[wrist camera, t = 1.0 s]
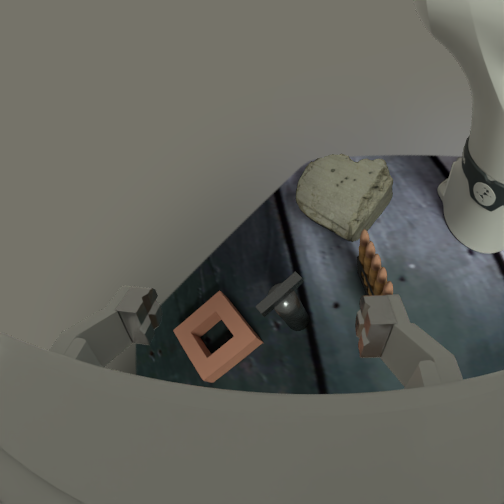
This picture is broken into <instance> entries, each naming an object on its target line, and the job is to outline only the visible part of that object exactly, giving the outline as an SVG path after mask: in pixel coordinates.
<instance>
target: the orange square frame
mask: <svg viewBox="0 0 504 504" xmlns="http://www.w3.org/2000/svg"><path fill="white" fill-rule="evenodd" d="M221 319H222V321H223V322H224V323H225V325H226V326H227V327H228V329H229V330H230V331H231V333H232V334H233V336H234V337H232V338H231V339H230V340H229V341H228V342H226V343H225V344H224V345H223V346H222V347H220V348H219V349H218V350H217V351H215V352H214V353H213V354H211V353H210V351H209V350H208V348H207V347H206V345H205V344H204V342H203V341H202V339H201V338H200V337H201V336H202V335H204V334H205V333H206V332H207V331H208V330H210V329H211V328H212V327H213V326H214V325H215V324H217V323H218V322H219V321H220V320H221ZM173 331H174V333H175V335H176V336H177V338H178V340H179V341H180V343H181V345H182V347H183V348H184V350H185V352H186V353H187V355H188V357H189V358H190V360H191V362H192V363H193V365H194V367H195V368H196V370H197V371H198V373H199V375H200V376H201V378H202V379H203V381H208V382H212V383H213V382H214V381H216V380H217V379H218V378H220V377H221V376H222V375H223V374H225V373H226V372H227V371H229V370H230V369H231V368H232V367H234V366H235V365H236V364H237V363H239V362H240V361H241V360H242V359H244V358H245V357H246V356H247V355H248V354H250V353H251V352H252V351H253V350H255V349H256V348H257V347H258V346H259V345H261V344H262V343H263V342H262V340H261V339H260V338H259V337H258V335H257V334H256V333H255V332H254V330H253V329H252V328H251V327H250V325H249V324H248V323H247V322H246V320H245V319H244V318H243V317H242V315H241V314H240V313H239V312H238V310H237V309H236V308H235V306H234V305H233V304H232V303H231V301H230V300H229V299H228V297H226V296H225V295H224V294H223V293H222V292H221V291H219V292H217V293H216V294H215V295H214V296H213V297H212V298H210V299H209V300H208V301H207V302H206V303H205V304H203V305H202V306H201V307H200V308H199V309H198V310H196V311H195V312H194V313H193V314H192V315H191V316H189V317H188V318H187V319H186V320H185V321H184V322H182V323H181V324H180V325H179V326H178V327H177V328H175V329H174V330H173Z"/></svg>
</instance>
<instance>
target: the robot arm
mask: <svg viewBox="0 0 504 504" xmlns="http://www.w3.org/2000/svg"><path fill="white" fill-rule="evenodd" d="M413 1H414V5H415V9H416V12H417V14H418V16H419V18H420V20H421V22H422V23H423V25H424V26H425V28H426V29H427V30H428V32H429V33H430V34H431V35H432V36H433V37H434V38H435V39H436V40H437V41H439V42H440V43H441V44H442V45H443V46H444V47H445V48H446V49H447V50H448V51H449V52H450V53H451V54H452V56H453V57H454V58H455V59H456V61H457V62H458V64H459V65H460V67H461V69H462V70H463V72H464V74H465V76H466V79H467V81H468V84H469V87H470V90H471V95H472V122H471V131H470V136H469V137H468V138H467V140H466V144H465V146H464V149H463V156H462V158H460V157H459V158H458V159H457V161H456V162H454V163H453V164H452V168H451V171H450V174H449V178H447V179H446V180H445V181H443V182H442V183H441V184H440V185H439V186H438V189H437V191H438V194H439V196H440V198H441V200H442V202H443V209H444V216H445V220H446V223H447V225H448V227H449V228H450V230H451V232H452V233H453V234H454V236H455V237H456V238H457V239H458V240H459V241H460V242H461V243H463V244H464V245H465V246H467V247H469V248H470V249H472V250H475V251H477V252H481V253H495V252H499V251H502V250H504V0H413ZM156 298H157V293H156V291H155V289H153V288H144V287H135V286H133V287H132V286H121V287H120V289H119V290H118V292H117V293H116V294H115V296H114V297H113V298H112V300H111V301H110V302H109V304H108V305H107V307H106V308H105V309H101V310H99V311H98V312H96V313H94V314H92V315H90V316H89V317H87V318H85V319H84V320H82V321H80V322H78V323H77V324H75V325H73V326H72V327H70V328H68V329H67V330H65V331H63V332H61V334H60V335H59V337H58V338H57V339H56V341H55V342H54V344H53V345H52V347H51V348H50V350H47V349H44V348H41V347H38V346H36V345H33V344H30V343H28V342H25V341H23V340H20V339H18V338H15V337H13V336H11V335H8V334H7V333H4V332H0V504H504V370H502V371H498V372H494V373H491V374H487V375H483V376H478V377H474V378H470V379H465V380H463V378H462V375H461V372H460V370H459V367H458V364H457V362H456V359H455V356H454V355H453V354H451V353H450V352H449V351H448V350H446V349H445V348H444V347H443V346H442V345H440V344H439V343H438V342H437V341H435V340H434V339H433V338H432V337H430V336H429V335H428V334H427V333H425V332H424V331H423V330H422V329H420V328H419V327H418V326H417V325H415V324H414V323H410V321H409V318H408V316H407V313H406V310H405V308H404V305H403V303H402V300H401V298H400V296H399V295H398V294H396V295H368V296H361V298H360V303H359V305H360V310H359V311H358V312H357V316H356V324H355V327H356V336H357V337H358V338H360V339H359V343H358V347H359V353H360V358H374V357H381V359H382V360H383V362H384V363H385V364H386V365H387V366H388V367H389V369H390V370H391V371H392V372H393V373H394V375H395V376H396V377H397V378H398V379H399V381H400V382H401V383H402V384H403V385H404V387H405V388H404V389H402V390H393V391H382V392H369V393H351V394H277V393H259V392H246V391H235V390H225V389H216V388H208V387H201V386H193V385H187V384H181V383H175V382H169V381H163V380H158V379H153V378H148V377H143V376H138V375H133V374H129V373H125V372H121V371H117V370H113V369H108V368H105V366H106V365H107V364H108V363H110V362H111V361H112V360H113V359H114V358H116V357H117V356H118V355H119V354H120V353H122V352H123V351H124V350H125V349H127V348H128V347H129V346H130V345H131V344H132V343H138V344H145V345H150V343H151V341H152V339H153V337H154V335H155V331H154V329H155V328H157V327H158V326H159V325H160V323H161V320H162V308H161V305H160V304H159V303H158V302H157V301H156Z"/></svg>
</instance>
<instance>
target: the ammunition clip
mask: <svg viewBox="0 0 504 504" xmlns="http://www.w3.org/2000/svg"><path fill="white" fill-rule="evenodd" d="M357 265H358V274H359V277H360V279H361V281H362V284H363V286H364V289H365V291H366V294H367V296H368V295H393V285H392V283H391V282H390V281H388V282H387V272H386V269H385V268H384V267H382V268H381V259H380V256H379V255H378V254H375V247H374V244H373V243H372V242H371V241H370V242H369V235H368V232H367V231H366V230H365V229H364V230H363V231H362V233H361V236H360V246H359V256H358V257H357Z"/></svg>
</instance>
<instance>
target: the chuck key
mask: <svg viewBox="0 0 504 504" xmlns="http://www.w3.org/2000/svg"><path fill="white" fill-rule="evenodd" d="M303 282H304V281H303V279H302V278H301V277H300V276H299V275H298V274H297V273H296V272H294V273H293V274H292V275H291V276H290V277H289V278H287V279H286V280H285V281H284V282H283V283H279V284H276V285H274V286H273V287H272V288H271V289H270V291H269V293H268V296H267V297H266V298H265V299H264V300H262V301H261V302H260V303H259V304H258V305H257V306H255V307H256V308H257V309H258V310H259V311H260V313H261V314H262V315H263V316H264V317H265V316H266V315H267V314H268V313H270V312H271V311H272V310H273V309H274V310H275V311H276V312H277V313H278V314H279V315H280V317H281V318H282V319H283V320H284V321H285V322H286V323H287V325H288V326H289V327H290V328H291V329H293V330H295V331H300V330H303V329H304V328H306V327H307V325H308V323H309V316H308V314H307V312H306V311H305V309H304V307H303V305H302V303H301V302H300V300H299V298H298V296H297V295H296V293H295V291H294V290H296V289H297V288H298V287H299V286H300V285H301V284H302V283H303Z"/></svg>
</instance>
